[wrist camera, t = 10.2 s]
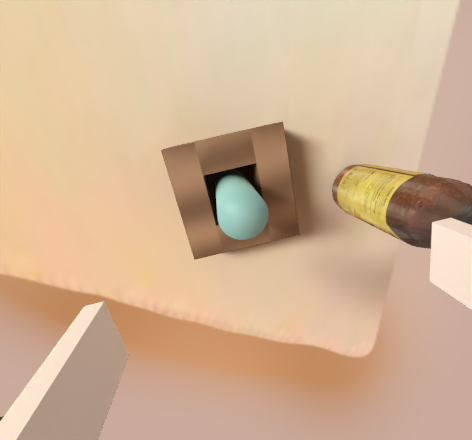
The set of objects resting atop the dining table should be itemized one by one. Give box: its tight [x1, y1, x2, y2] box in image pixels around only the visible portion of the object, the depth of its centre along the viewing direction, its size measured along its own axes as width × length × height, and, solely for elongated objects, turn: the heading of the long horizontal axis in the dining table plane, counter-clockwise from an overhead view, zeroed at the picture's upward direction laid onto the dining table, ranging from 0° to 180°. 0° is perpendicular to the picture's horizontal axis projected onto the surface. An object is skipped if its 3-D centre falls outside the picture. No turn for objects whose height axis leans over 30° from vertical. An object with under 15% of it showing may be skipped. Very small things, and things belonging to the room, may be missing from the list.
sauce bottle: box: [332, 164, 472, 249], centre depth 24 cm, size 6×6×20 cm
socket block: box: [161, 122, 299, 259], centre depth 29 cm, size 12×12×5 cm
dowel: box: [215, 170, 268, 240], centre depth 26 cm, size 4×4×12 cm
